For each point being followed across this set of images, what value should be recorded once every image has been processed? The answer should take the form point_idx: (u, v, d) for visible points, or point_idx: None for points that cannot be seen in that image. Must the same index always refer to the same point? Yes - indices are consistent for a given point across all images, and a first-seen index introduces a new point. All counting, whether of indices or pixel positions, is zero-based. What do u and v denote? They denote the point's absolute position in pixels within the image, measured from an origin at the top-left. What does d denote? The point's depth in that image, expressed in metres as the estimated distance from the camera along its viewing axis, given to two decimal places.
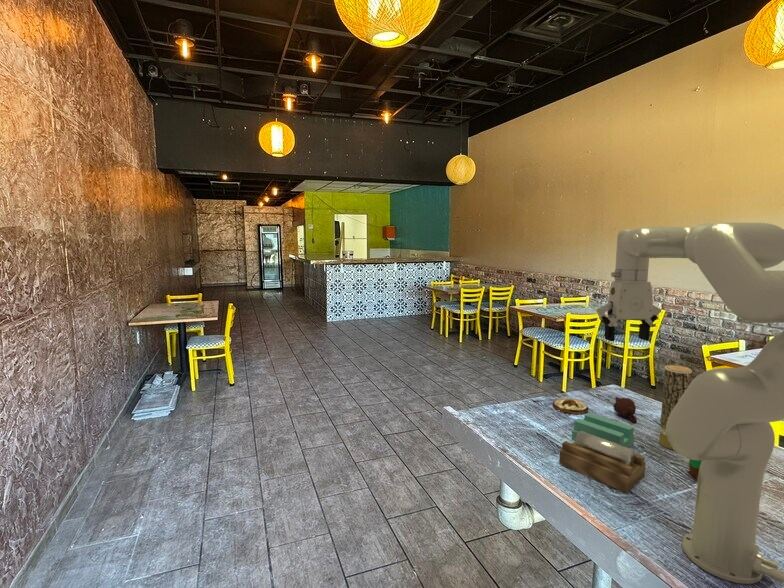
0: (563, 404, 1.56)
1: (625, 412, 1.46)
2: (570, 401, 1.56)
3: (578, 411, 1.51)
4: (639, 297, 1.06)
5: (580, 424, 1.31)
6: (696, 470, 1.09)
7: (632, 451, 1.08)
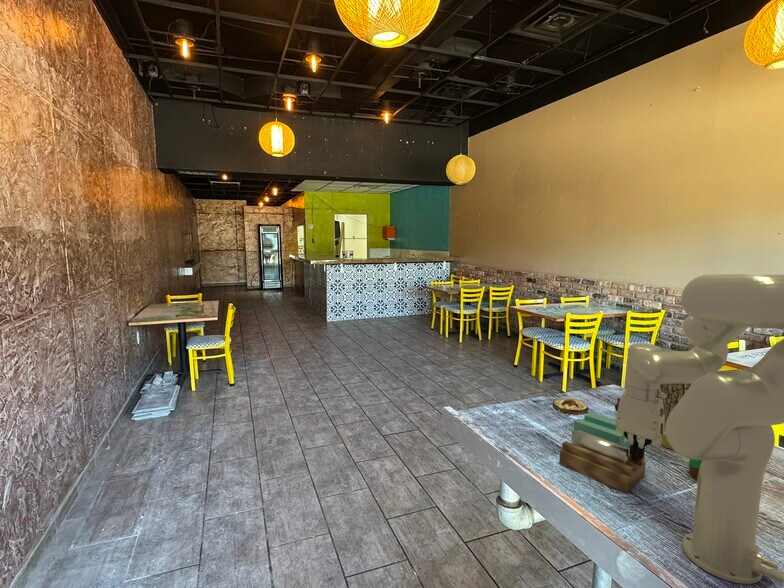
0: (563, 404, 1.56)
1: None
2: (570, 401, 1.56)
3: (578, 411, 1.51)
4: None
5: (580, 424, 1.31)
6: (696, 470, 1.09)
7: (628, 450, 1.08)
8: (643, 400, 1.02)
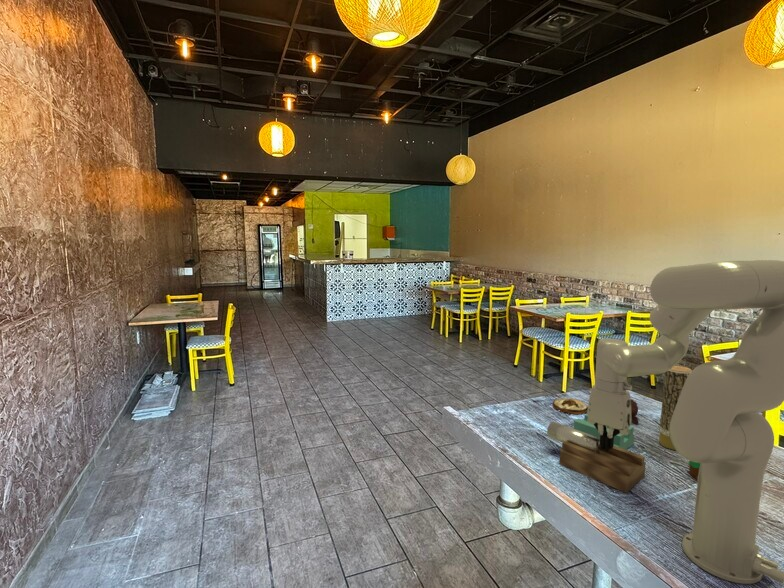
0: (563, 404, 1.56)
1: None
2: (570, 401, 1.56)
3: (578, 411, 1.51)
4: None
5: (580, 424, 1.31)
6: (696, 470, 1.09)
7: (599, 440, 1.14)
8: (611, 392, 1.07)
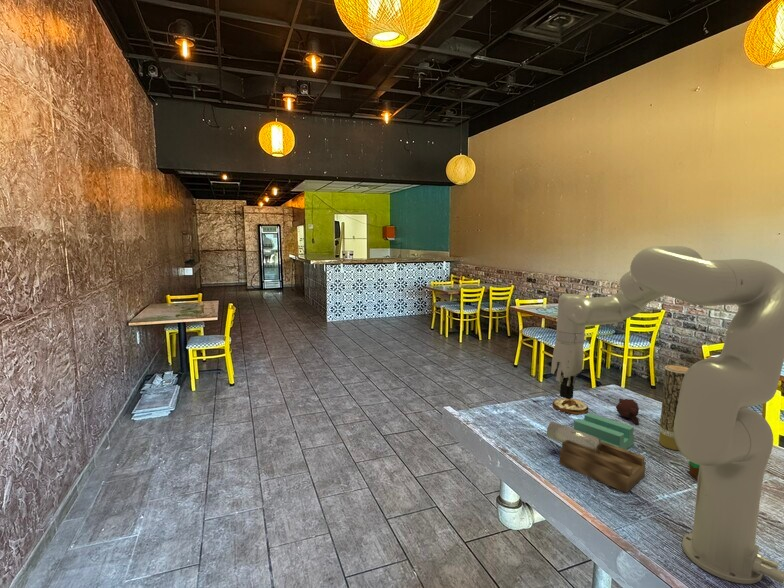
0: (563, 404, 1.56)
1: (627, 413, 1.45)
2: (570, 401, 1.56)
3: (578, 411, 1.51)
4: None
5: (580, 424, 1.31)
6: (696, 470, 1.09)
7: (598, 440, 1.14)
8: None
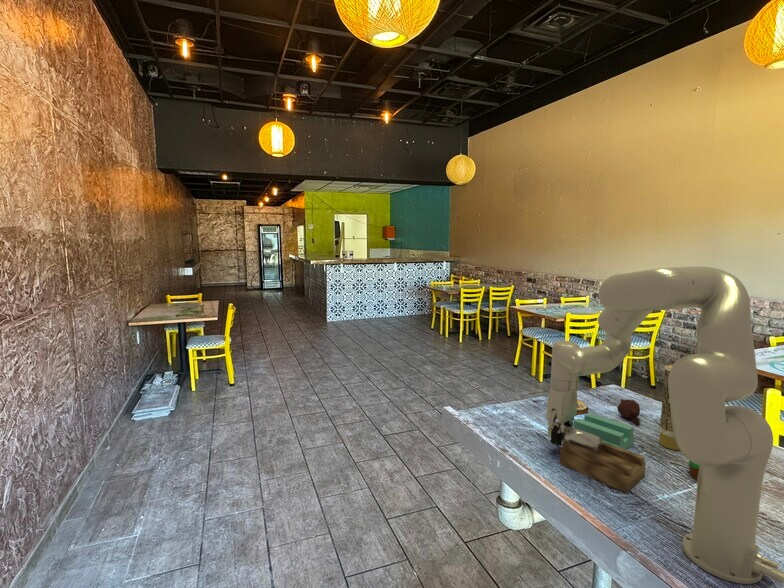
0: None
1: (628, 414, 1.45)
2: None
3: (577, 411, 1.51)
4: None
5: (580, 424, 1.31)
6: (696, 470, 1.09)
7: (600, 438, 1.15)
8: (577, 387, 1.19)
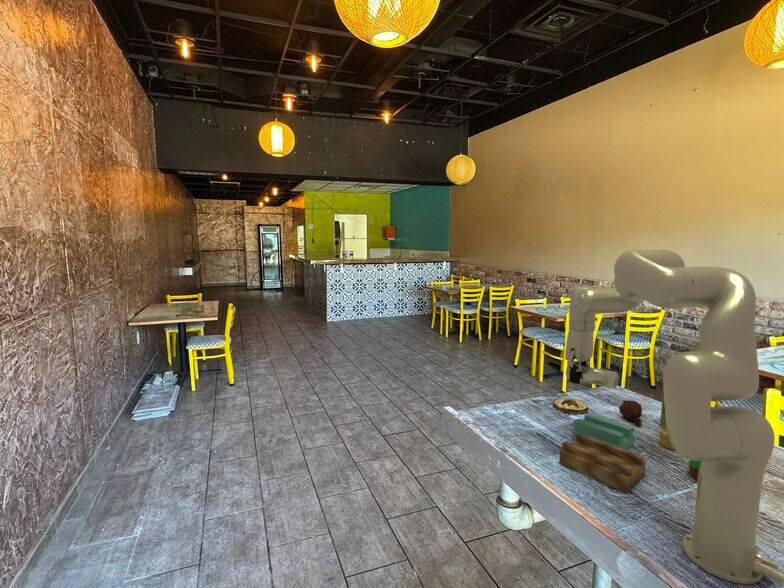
0: (563, 403, 1.57)
1: (630, 415, 1.44)
2: (570, 401, 1.56)
3: (576, 411, 1.51)
4: None
5: (580, 424, 1.31)
6: (696, 470, 1.09)
7: (616, 373, 1.23)
8: (594, 329, 1.28)
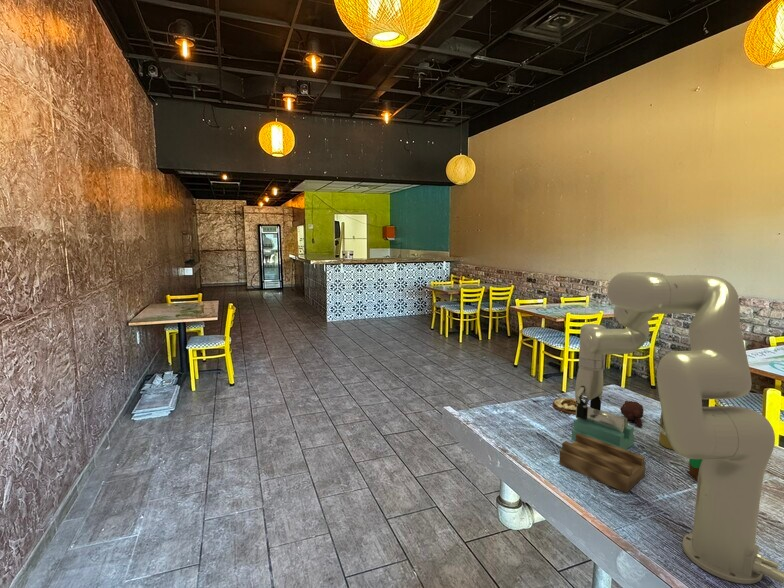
0: (562, 403, 1.57)
1: (631, 415, 1.44)
2: (570, 401, 1.56)
3: None
4: None
5: (580, 424, 1.31)
6: (696, 470, 1.09)
7: (625, 419, 1.25)
8: (604, 366, 1.30)
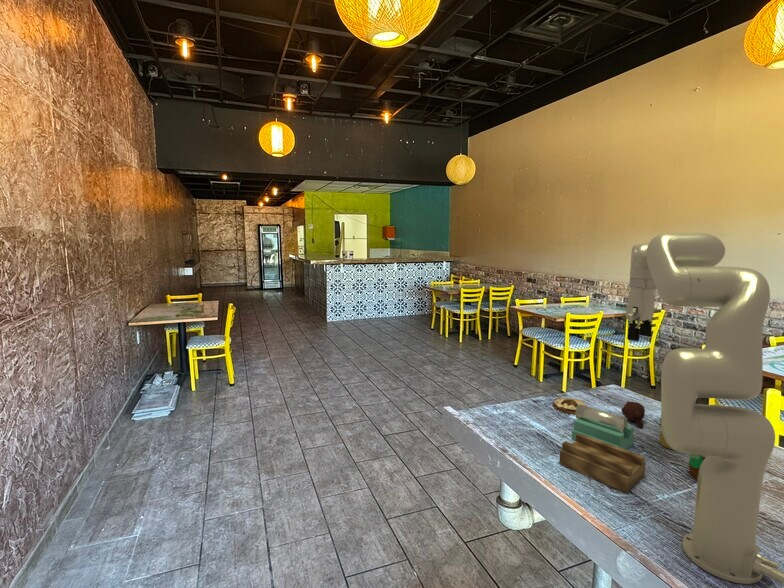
0: (562, 403, 1.57)
1: (632, 416, 1.43)
2: (569, 401, 1.56)
3: (575, 411, 1.51)
4: None
5: (580, 424, 1.31)
6: (696, 470, 1.09)
7: (625, 419, 1.25)
8: None
